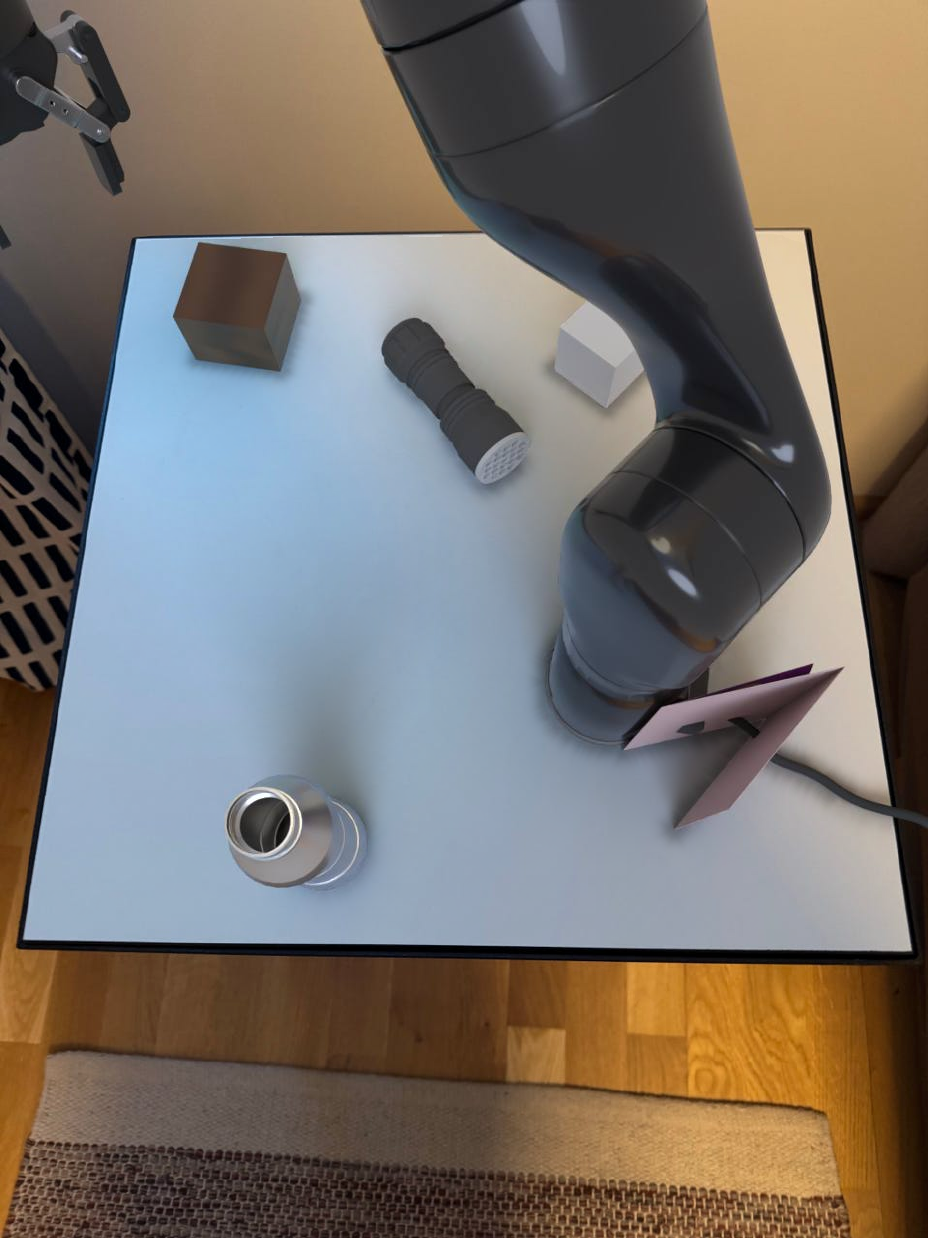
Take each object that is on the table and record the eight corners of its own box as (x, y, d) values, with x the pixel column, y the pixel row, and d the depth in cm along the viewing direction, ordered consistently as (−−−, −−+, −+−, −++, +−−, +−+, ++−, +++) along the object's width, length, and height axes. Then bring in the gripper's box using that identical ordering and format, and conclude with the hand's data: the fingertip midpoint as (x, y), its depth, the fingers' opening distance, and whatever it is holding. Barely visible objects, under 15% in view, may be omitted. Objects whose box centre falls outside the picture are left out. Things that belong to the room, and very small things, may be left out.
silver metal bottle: (309, 785, 64) (234, 737, 45) (387, 825, 63) (345, 793, 44) (266, 864, 62) (169, 849, 43) (346, 907, 61) (283, 911, 42)
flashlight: (378, 370, 75) (370, 331, 70) (427, 340, 76) (423, 299, 71) (479, 493, 71) (478, 461, 66) (529, 459, 72) (532, 425, 67)
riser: (301, 299, 78) (286, 252, 72) (280, 371, 76) (263, 328, 70) (219, 288, 79) (198, 241, 73) (195, 359, 76) (172, 316, 71)
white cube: (606, 409, 74) (615, 368, 68) (554, 370, 75) (559, 327, 69) (649, 365, 75) (662, 321, 69) (597, 328, 76) (605, 282, 70)
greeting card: (762, 707, 65) (840, 652, 50) (795, 802, 62) (886, 773, 48) (619, 739, 64) (657, 693, 50) (647, 836, 62) (694, 817, 48)
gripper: (-186, 17, 41) (-13, 290, 55) (76, -81, 45) (174, 196, 59) (-239, -40, 43) (-60, 233, 58) (13, -128, 48) (121, 148, 62)
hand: (58, 214), depth 58 cm, fingers open, 8 cm apart
